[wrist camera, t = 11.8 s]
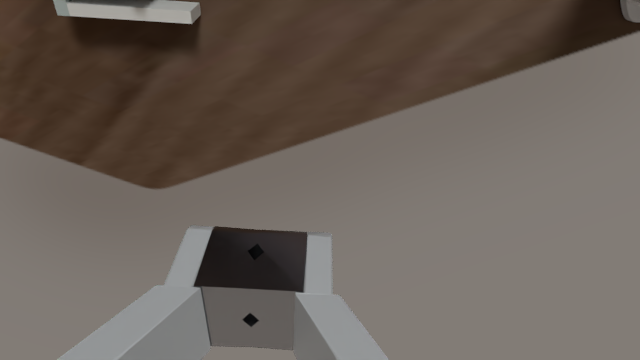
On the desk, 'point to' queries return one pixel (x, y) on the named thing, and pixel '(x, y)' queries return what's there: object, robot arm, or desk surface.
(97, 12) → the bay
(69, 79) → the desk surface
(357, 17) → the desk surface
